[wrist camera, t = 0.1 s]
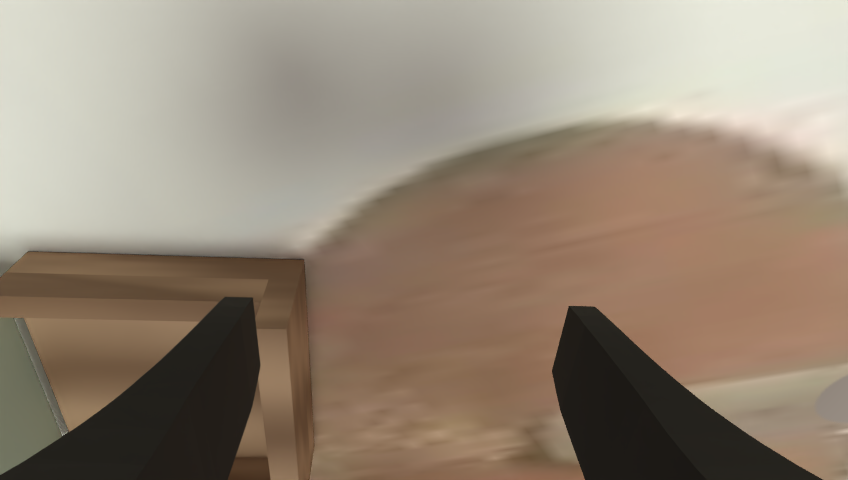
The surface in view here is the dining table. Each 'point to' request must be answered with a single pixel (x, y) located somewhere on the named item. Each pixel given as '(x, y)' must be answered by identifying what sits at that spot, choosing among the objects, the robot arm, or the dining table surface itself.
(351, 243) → the dining table surface
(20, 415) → the panel
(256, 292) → the tray
